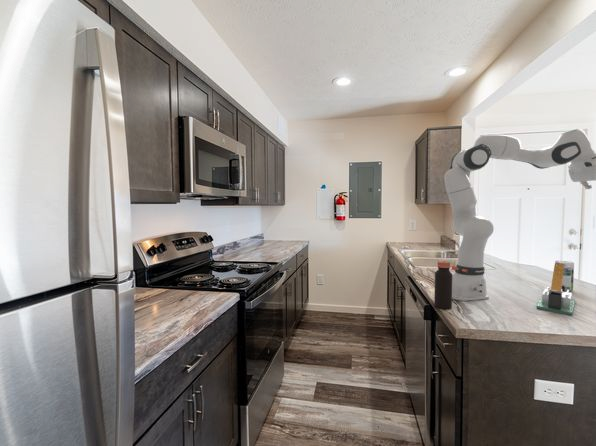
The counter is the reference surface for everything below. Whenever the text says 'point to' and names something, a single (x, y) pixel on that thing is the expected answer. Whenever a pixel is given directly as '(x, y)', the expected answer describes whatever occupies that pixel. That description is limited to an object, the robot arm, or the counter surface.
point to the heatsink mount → (557, 302)
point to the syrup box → (567, 274)
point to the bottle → (443, 286)
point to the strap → (557, 279)
